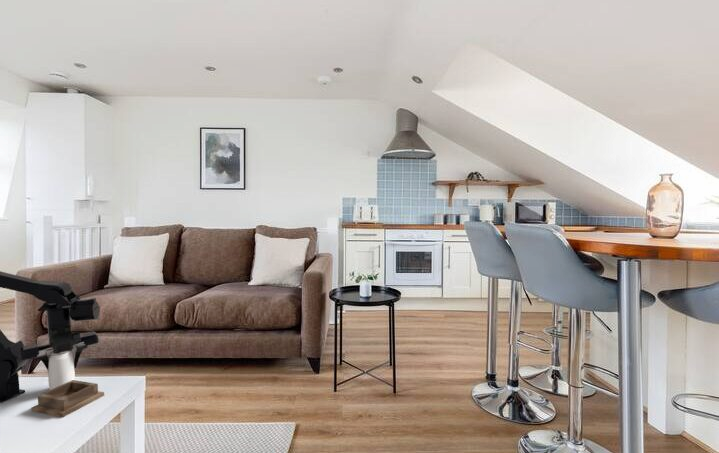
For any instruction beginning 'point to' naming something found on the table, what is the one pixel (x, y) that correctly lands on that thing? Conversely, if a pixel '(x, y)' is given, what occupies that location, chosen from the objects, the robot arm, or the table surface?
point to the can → (60, 368)
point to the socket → (67, 398)
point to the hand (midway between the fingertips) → (62, 371)
